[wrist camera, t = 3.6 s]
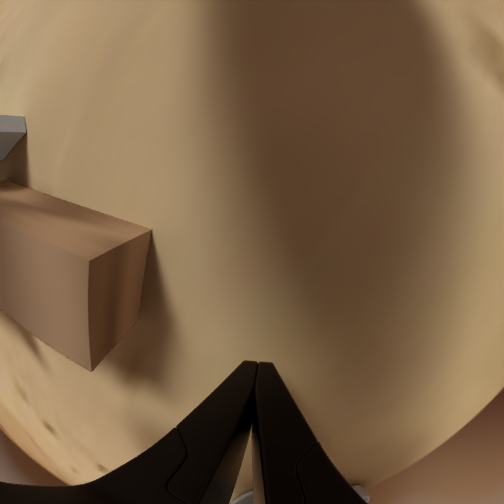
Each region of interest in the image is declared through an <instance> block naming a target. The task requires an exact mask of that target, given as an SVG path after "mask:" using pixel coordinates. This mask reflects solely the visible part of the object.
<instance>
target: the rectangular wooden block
mask: <svg viewBox="0 0 504 504" xmlns="http://www.w3.org/2000/svg"><path fill="white" fill-rule="evenodd" d="M151 231H152V229H149V228H146V227H143V226H140V225H137V224H134V223H131V222H128V221H125V220H122V219H119V218H116V217H113V216H110V215H107V214H104V213H101V212H98V211H95V210H92V209H89V208H86V207H83V206H80V205H77V204H74V203H71V202H68V201H65V200H62V199H59V198H56V197H53V196H50V195H48V194H45V193H42V192H39V191H36V190H33V189H30V188H27V187H24V186H21V185H19V184H16V183H13V182H10V181H7V180H5V181H0V309H1V310H2V311H3V312H4V313H6V314H7V315H8V316H9V317H10V318H12V319H13V320H14V321H15V322H17V323H18V324H19V325H20V326H22V327H23V328H24V329H26V330H27V331H28V332H30V333H31V334H33V335H34V336H35V337H37V338H38V339H39V340H41V341H42V342H44V343H45V344H47V345H48V346H50V347H51V348H53V349H54V350H56V351H57V352H59V353H60V354H62V355H64V356H65V357H67V358H68V359H70V360H72V361H73V362H75V363H77V364H78V365H80V366H82V367H84V368H85V369H87V370H89V371H91V372H92V371H93V370H94V369H95V368H96V367H97V365H98V364H99V363H100V362H101V361H102V360H103V359H104V357H105V356H106V355H107V354H108V353H109V352H110V351H111V349H112V348H113V347H114V346H115V345H116V344H117V343H118V342H119V340H120V339H121V338H122V337H123V336H124V335H125V334H126V333H127V331H128V330H129V329H130V328H131V327H132V326H133V325H134V324H135V323H136V322H137V320H138V319H139V312H140V303H141V295H142V287H143V280H144V273H145V266H146V259H147V253H148V247H149V242H150V236H151Z"/></svg>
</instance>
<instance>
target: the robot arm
mask: <svg viewBox="0 0 504 504" xmlns="http://www.w3.org/2000/svg"><path fill="white" fill-rule="evenodd" d="M251 427H252V468H253V503H254V504H368V503H367V502H366V501H365V500H364V499H363V498H362V497H361V496H360V495H359V494H358V493H357V492H356V490H355V489H354V488H353V487H352V486H351V485H350V484H349V483H348V482H347V481H346V479H345V478H344V477H343V476H342V475H341V473H340V472H339V471H338V470H337V468H336V467H335V466H334V464H333V463H332V462H331V460H330V459H329V457H328V456H327V454H326V453H325V451H324V450H323V448H322V446H321V445H320V443H319V442H317V438H316V437H315V435H314V433H313V432H312V430H311V428H310V427H309V425H308V423H307V422H306V420H305V418H304V417H303V415H302V413H301V411H300V410H299V408H298V406H297V405H296V403H295V401H294V399H293V398H292V396H291V394H290V393H289V391H288V389H287V387H286V386H285V384H284V382H283V380H282V379H281V377H280V375H279V373H278V371H277V370H276V368H275V366H274V364H273V363H271V362H259V363H257V362H256V361H247V360H245V361H243V362H242V363H241V364H240V365H239V366H238V367H237V368H236V369H235V370H234V371H233V372H232V373H231V374H230V375H229V376H228V377H227V378H226V379H225V380H224V381H223V382H222V383H221V384H220V385H219V386H218V387H217V388H216V389H215V390H214V391H213V392H212V393H211V394H210V395H209V396H208V397H207V398H206V399H205V400H204V401H203V402H202V403H201V404H199V405H198V406H197V407H196V408H195V409H194V410H193V411H192V412H191V413H190V414H189V415H188V416H187V417H186V418H184V419H183V420H182V421H181V422H180V423H179V424H178V425H177V426H176V428H173V429H172V430H171V431H170V432H169V433H168V434H167V435H165V436H164V437H163V438H162V439H160V440H159V441H158V442H157V443H156V444H154V445H153V446H152V447H150V448H149V449H147V450H146V451H144V452H143V453H141V454H140V455H138V456H137V457H135V458H134V459H132V460H130V461H129V462H127V463H125V464H124V465H122V466H120V467H118V468H117V469H115V470H113V471H111V472H110V473H108V474H106V475H104V476H102V477H101V478H99V479H96V480H94V481H91V482H89V483H85V484H81V485H73V486H39V485H22V484H13V483H6V482H1V481H0V504H229V502H230V499H231V496H232V493H233V490H234V487H235V483H236V480H237V477H238V474H239V470H240V467H241V464H242V460H243V457H244V454H245V450H246V447H247V443H248V440H249V436H250V432H251Z"/></svg>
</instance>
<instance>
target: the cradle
mask: <svg viewBox="0 0 504 504" xmlns="http://www.w3.org/2000/svg"><path fill="white" fill-rule="evenodd" d="M25 133H26V126H25V119H24V117H22V116H8V115H0V160H2V159H4V158H5V157H6V156H7V155H8V153H9V152H10V151H11V150H12V148H13V147H14V146H15V145H16V144H17V142H18V141H19V140H20V139H21V138H22V137H23V136H24V135H25Z"/></svg>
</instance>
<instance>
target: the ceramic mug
mask: <svg viewBox="0 0 504 504" xmlns="http://www.w3.org/2000/svg"><path fill="white" fill-rule="evenodd" d="M352 487H353V488H354V489H355V490H356V492H357V493H358V494H359V495H360V496H361V497H362V498H363V499H364V500H365V501H366V502H367V503H368V501H369V499H370V495H369V494H368V493H367V492H366V491H365V489H364V488H363V487H362V486H361V485H353V486H352ZM230 504H254V503H253V490H252V491H249V492H247V493H245V494H243V495H241V496H239V497H238V498H236V499H235V500H233V501H232V502H231V503H230Z"/></svg>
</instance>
